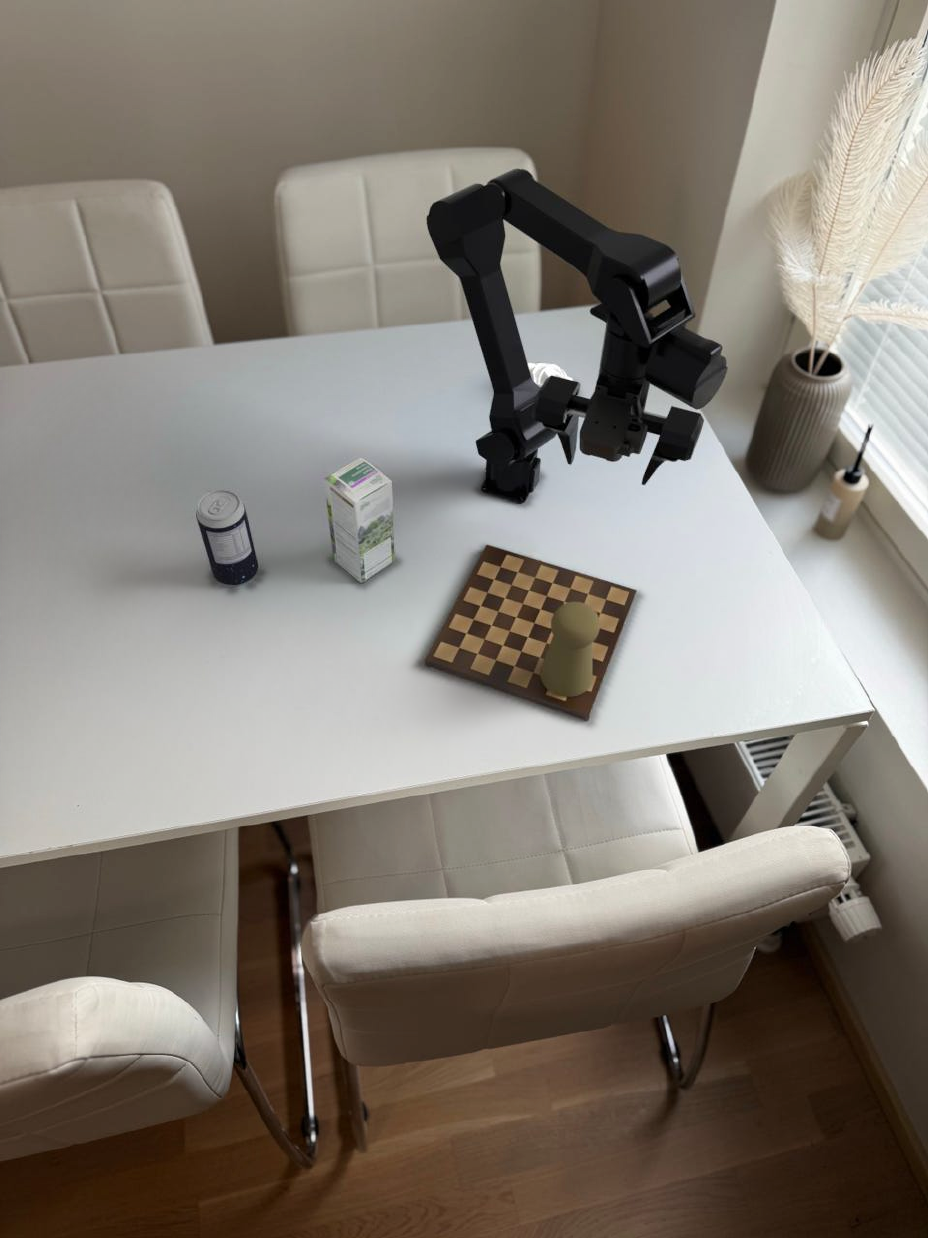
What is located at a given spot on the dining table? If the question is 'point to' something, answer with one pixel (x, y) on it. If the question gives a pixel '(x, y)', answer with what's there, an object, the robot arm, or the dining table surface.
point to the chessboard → (525, 627)
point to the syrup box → (360, 519)
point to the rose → (545, 372)
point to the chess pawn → (570, 650)
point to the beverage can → (227, 537)
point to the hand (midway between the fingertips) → (607, 472)
